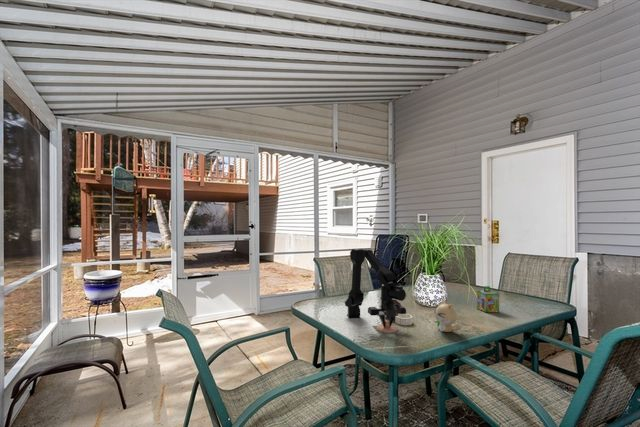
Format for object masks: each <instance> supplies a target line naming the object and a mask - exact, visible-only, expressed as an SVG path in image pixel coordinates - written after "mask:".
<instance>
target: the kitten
mask: <svg viewBox="0 0 640 427" xmlns="http://www.w3.org/2000/svg"><path fill="white" fill-rule="evenodd" d="M434 316H435V319H436V320H437V321H436V323H437V328H438V331H439V332H440V333H443V332H444V333H451V332H458V331H460V330H461V329H462V325H460V324H457V326H456V327H455V328H454V327H453V326H452V324H455V323H456V320H457V312H456V310H455V308H454V304H453V303H449V304H448V303H447V302H446V301H445V299H444V298H443V299H441V304H439V305H438V306H437V307H436V309H434Z"/></svg>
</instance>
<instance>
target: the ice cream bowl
mask: <svg viewBox="0 0 640 427" xmlns="http://www.w3.org/2000/svg"><path fill="white" fill-rule="evenodd" d="M393 301H394V305H396V304H400V306H402V304H401V303H400V301H399V300H396V299H393ZM397 314H400V313H399V312H397ZM384 315H385V317H387V318H389V315H387V313H386V312H384Z"/></svg>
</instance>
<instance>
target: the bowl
mask: <svg viewBox="0 0 640 427" xmlns="http://www.w3.org/2000/svg"><path fill="white" fill-rule="evenodd" d="M413 322H414V321H413V315H411V314H410V313H406V314H398V316H396V317H395V318H394V323H395V324H396V325H400V326H411V325H413Z"/></svg>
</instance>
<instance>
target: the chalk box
mask: <svg viewBox="0 0 640 427" xmlns="http://www.w3.org/2000/svg"><path fill="white" fill-rule="evenodd" d="M487 289H488V290H487ZM478 309H479V310H478ZM476 310H478V311H481V310H482V311H481V312H483V313H486V312H493V313H497V312H496V311H499V312H500V293H498V292H495V291H492V290H491V287H490V286H489V285H488V286H486V285H485V286H483V290H476Z"/></svg>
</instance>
